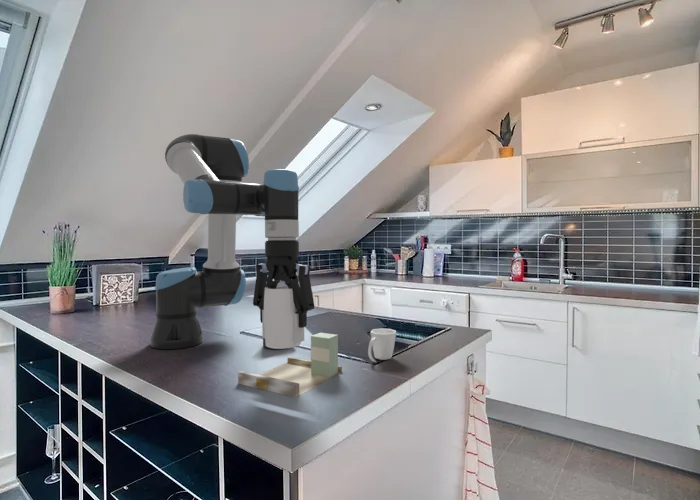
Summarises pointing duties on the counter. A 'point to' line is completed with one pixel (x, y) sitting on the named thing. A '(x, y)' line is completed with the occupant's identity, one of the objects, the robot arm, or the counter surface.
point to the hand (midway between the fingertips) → (283, 339)
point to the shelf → (285, 378)
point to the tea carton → (324, 354)
